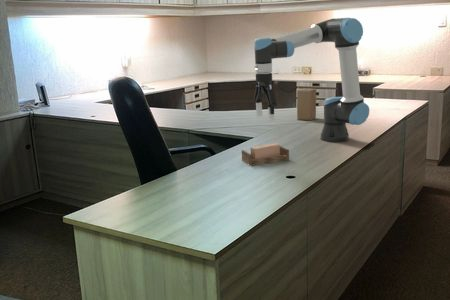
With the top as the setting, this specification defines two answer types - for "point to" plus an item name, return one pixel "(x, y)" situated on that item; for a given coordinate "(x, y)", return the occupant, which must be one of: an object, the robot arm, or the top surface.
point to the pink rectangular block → (265, 151)
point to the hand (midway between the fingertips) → (265, 118)
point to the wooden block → (306, 104)
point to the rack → (248, 158)
